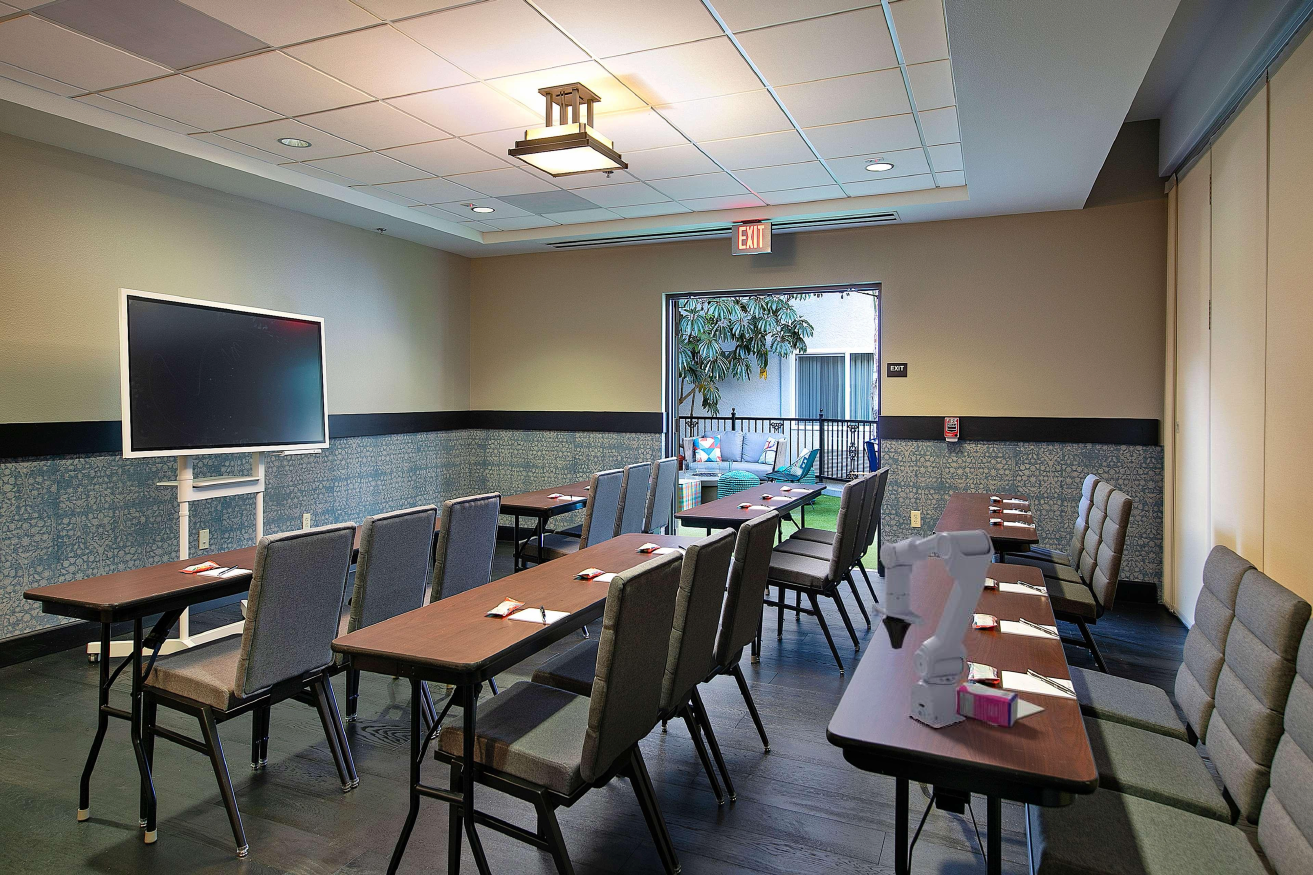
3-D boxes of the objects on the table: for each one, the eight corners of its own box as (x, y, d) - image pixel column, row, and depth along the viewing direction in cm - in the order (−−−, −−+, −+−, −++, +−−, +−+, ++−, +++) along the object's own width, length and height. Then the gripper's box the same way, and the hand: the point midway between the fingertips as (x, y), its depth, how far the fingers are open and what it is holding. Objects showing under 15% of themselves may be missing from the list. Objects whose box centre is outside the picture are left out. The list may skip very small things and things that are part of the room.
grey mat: (995, 726, 161) (995, 724, 161) (928, 697, 177) (928, 696, 177) (1044, 709, 169) (1044, 708, 169) (976, 683, 185) (976, 682, 185)
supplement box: (1017, 719, 164) (963, 705, 171) (1018, 693, 164) (964, 680, 171) (1010, 728, 159) (955, 713, 167) (1011, 702, 159) (956, 688, 166)
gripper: (933, 597, 176) (932, 653, 177) (886, 584, 188) (886, 636, 189) (911, 601, 172) (911, 658, 173) (866, 587, 185) (865, 641, 186)
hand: (896, 647), depth 181 cm, fingers closed
